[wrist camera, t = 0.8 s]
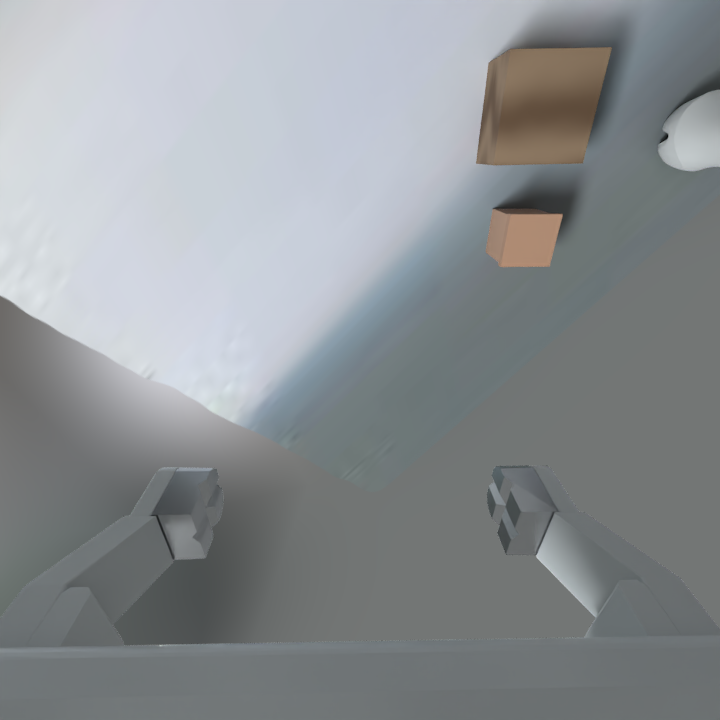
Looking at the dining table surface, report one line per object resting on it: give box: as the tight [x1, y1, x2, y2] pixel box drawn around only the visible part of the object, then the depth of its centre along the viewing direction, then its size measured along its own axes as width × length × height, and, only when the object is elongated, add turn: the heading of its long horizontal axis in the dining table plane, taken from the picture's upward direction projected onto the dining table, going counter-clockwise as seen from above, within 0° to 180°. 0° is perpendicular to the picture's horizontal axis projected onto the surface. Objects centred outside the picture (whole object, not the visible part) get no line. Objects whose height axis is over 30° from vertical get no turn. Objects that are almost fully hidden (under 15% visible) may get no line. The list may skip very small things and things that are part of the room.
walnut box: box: [476, 47, 612, 165], centre depth 37 cm, size 9×9×6 cm
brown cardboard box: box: [486, 209, 563, 267], centre depth 43 cm, size 6×6×6 cm
